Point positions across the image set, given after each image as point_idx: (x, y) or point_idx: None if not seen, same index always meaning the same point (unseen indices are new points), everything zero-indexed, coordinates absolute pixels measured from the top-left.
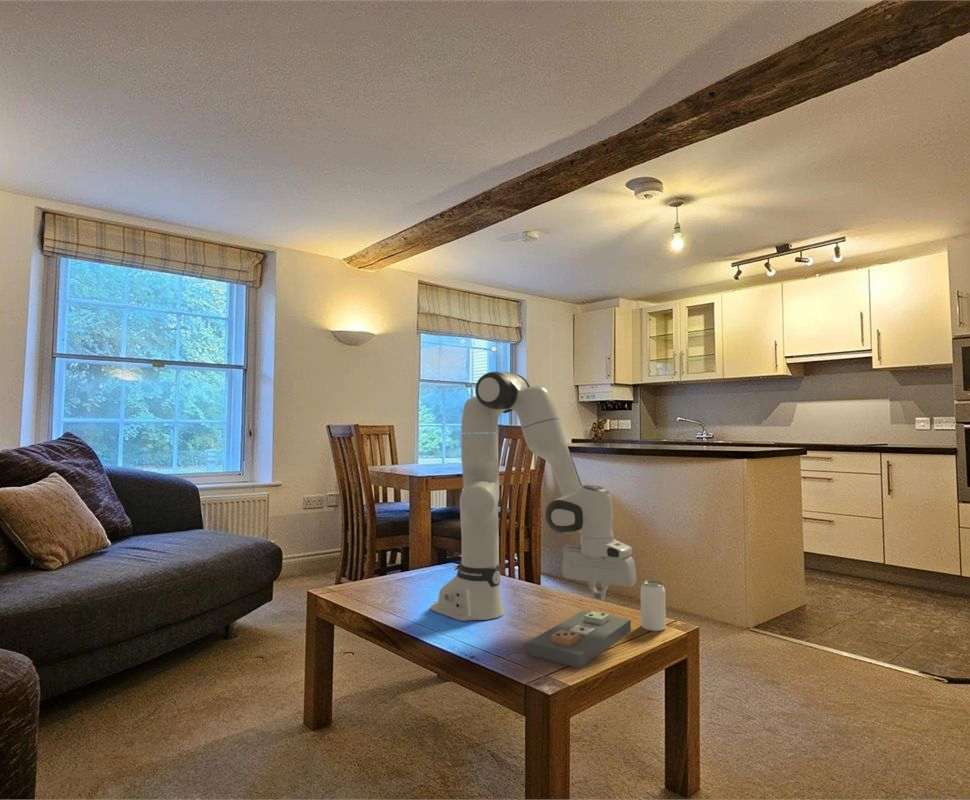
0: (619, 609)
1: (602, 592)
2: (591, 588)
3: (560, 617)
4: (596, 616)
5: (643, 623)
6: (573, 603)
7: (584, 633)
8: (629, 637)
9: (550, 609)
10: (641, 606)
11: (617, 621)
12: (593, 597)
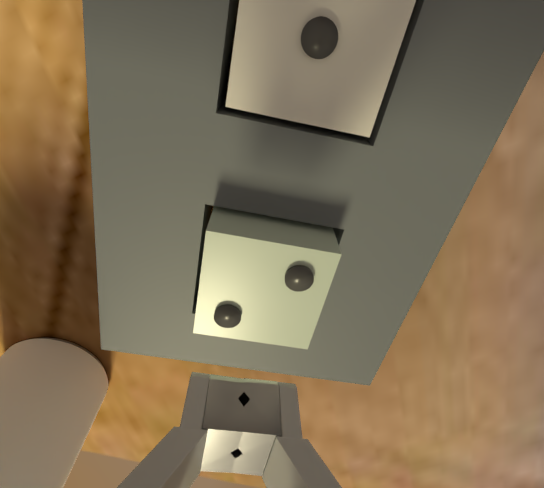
0: None
1: (174, 438)
2: (316, 479)
3: (466, 348)
4: (257, 269)
5: (71, 364)
6: (419, 473)
7: None
8: (91, 232)
9: (511, 407)
10: (44, 446)
11: (150, 302)
12: (287, 387)
